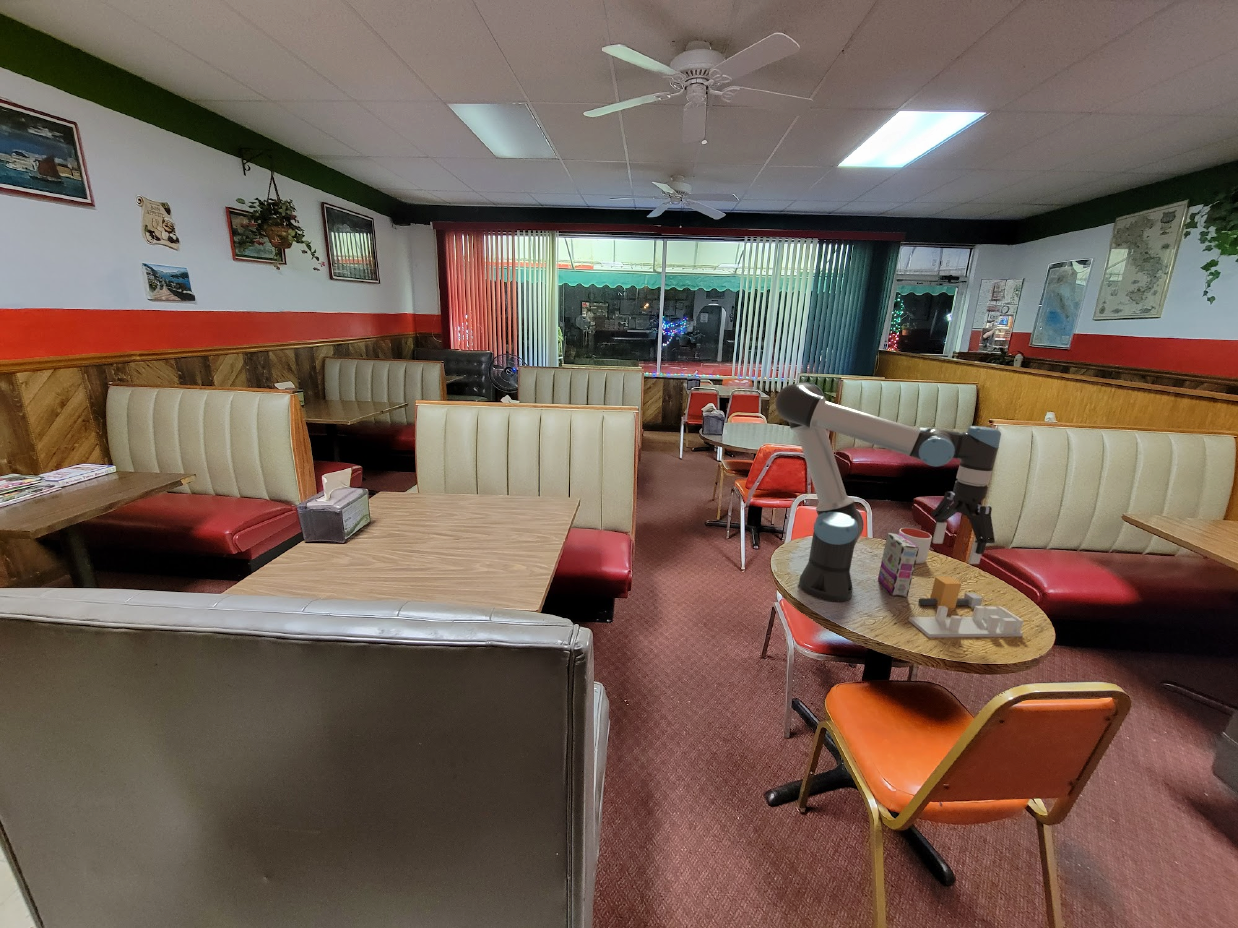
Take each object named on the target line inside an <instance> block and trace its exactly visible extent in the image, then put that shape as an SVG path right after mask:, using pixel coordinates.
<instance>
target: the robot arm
mask: <svg viewBox="0 0 1238 928" xmlns="http://www.w3.org/2000/svg"><path fill="white" fill-rule="evenodd" d="M774 403H775V404H774V405H775V409H776V412H777V414H778V415H779V417H780V418H782V419H783V421H786V422H788V425H789V428H790V430H791V431H793V432H795V433H796V434H797V437H798V441H799V443H800V447H801V450H802V453H803V457H804V460H805V462H806V466H807V468H808V471H809V475H810V478H811V481H812V484H813V487H814V491H815V494H816V498H817V500H818V504H817V506H816V507H815V511H816V514H817V517H816V518H815V520H814V521H815V522H814V523H813V531H812V532H813V533H812V539H811V545H810V552H809V558H808V562H807V564H806V566H805V567H804V569H803V570H802V573H801V575H800V576H799V581H798V586H799V588H800V589H801V590H802V591H803V592H804V593H806V594H807V595H809V596H811V597H813V598H816V599H818V600H821V601H827V602H834V603H841V602H846V601H849V600H850V599H851V598H852V596H853V590H854V588H853V583H852V577H851V571H850V570H851V565H852V560H853V554H854V551H855V547H856V545H857V542H858V540H859V538H860V537H861V535H862V533H863V530H864V526H865V523H864V518H863V515H862V514H861V512H860V511H859V509H857V506H856V503H855V501H854V499H853V498H852V497H849V496H848V495H847V493H846V489H845V486H844V483H843V480H842V476H841V473H840V469H839V466H838V463H837V460H836V457H835V454H834V451H833V447H832V444H831V441H830V438H829V435H828V432H827V431H828V430H829V431H830V432H833V433H837V434H840V435H844V436H847V437H850V438H853V439H856V440H860V441H862V442H865V443H868V444H872V445H875V446H877V447H881V448H883V449H884V448H885V449H888V450H890V451H892V452H893V451H894V452H896V453H899V454H903V455H905V456H909V457H912V458H913V459H917V460H921V462H923V463H925V465H928V466H931V467H942V466H945V465H946V464H948V463H949V462H951V460H952V459H956V460H957V459H958V460H960V461H959V464H958V465H959V467H958V470H957V473H956V477H955V478H956V480H955V483H954V486H953V491H946V492H944V496H943V498H942V499H941V501H940V502H939V503H938V505H937V506H936V507H935V509H934V510H933V511H932V513H931V514H930V515H931V518H934V521H935V525H934V528H933V530H934V534H933V537H932V540H931V542H932V543H933V544H943V543H944V539H945V533H946V529H947V526H948V523H947V522H948V521H947V520H949V519H950V518H952V517H953V516H954V515H955V514H957V513H959V514H961V515H963V516H965V517H966V518H967V520H969V523H970V526H971V528H972V531H973V534H974V538H975V540H973V541H972V546H971V550H970V553H969V558H968V561H967V563H968V564H969V565H980V562H981V558H982V555H984V554H985V550H986V548H987V547H986V546H987V544H995V543H996V542H995V541H996V539H995V534H994V526H993V520H992V510H993V507H992V506H989V505H983V502H982V501H983V500H984V499H986V497H987V493H988V489H989V487H988V485H989V484H990V482H991V477H992V473H993V469H994V465H995V462H996V458H997V455H998V451H999V449H1000V442H1001V437H1002V433H1001V431H1000V430H999V429H998V428H993V427H988V426H977V425H972V426H971V425H970V426H969V427H968V428H967V430H966V431H953V430H947V429H945V430H944V429H939V428H933V427H918V428H917V427H913V426H910V425H906V424H903V423H899V422H897V421H894V420H890V419H886V418H883V417H879V416H877V415H873V414H870V413H867V412H863V411H859V410H857V409H853V408H850V407H846V406H843V405H840V404H836V403H833V402H830V401H827V400H826V398H825V394H824V392H823V390H822V389H821V387H819V386H818V385H816V384H814V383H812V382H809V381H808V382H806V381H802V382H797V383H793V384H788V385H786V386H784V387H783V388H782V389H781V390H779V392H778V393H777V394H776V397H775V402H774Z"/></svg>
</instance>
